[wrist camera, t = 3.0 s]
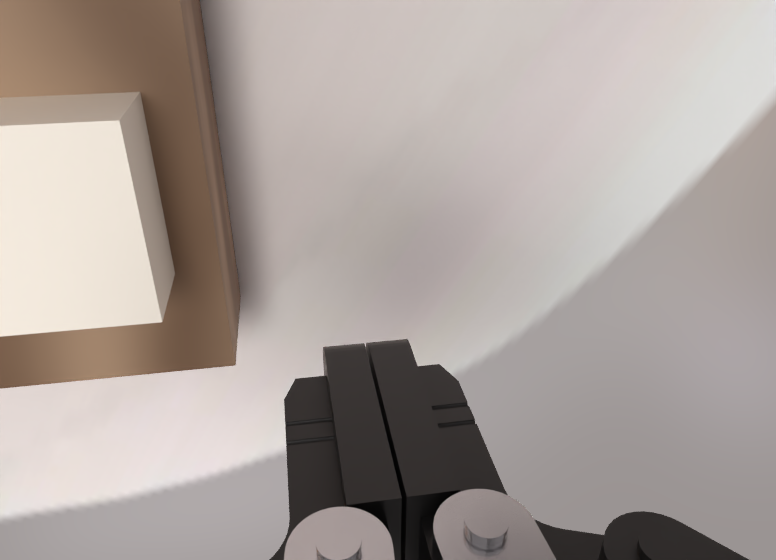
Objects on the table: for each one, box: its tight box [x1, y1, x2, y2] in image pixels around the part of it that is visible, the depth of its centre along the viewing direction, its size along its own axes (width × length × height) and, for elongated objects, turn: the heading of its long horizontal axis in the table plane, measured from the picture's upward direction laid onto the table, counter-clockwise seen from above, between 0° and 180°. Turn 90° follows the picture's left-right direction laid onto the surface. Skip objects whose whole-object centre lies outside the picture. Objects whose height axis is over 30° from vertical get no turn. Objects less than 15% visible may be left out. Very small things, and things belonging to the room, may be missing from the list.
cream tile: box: [0, 92, 175, 337], centre depth 18 cm, size 6×6×3 cm
